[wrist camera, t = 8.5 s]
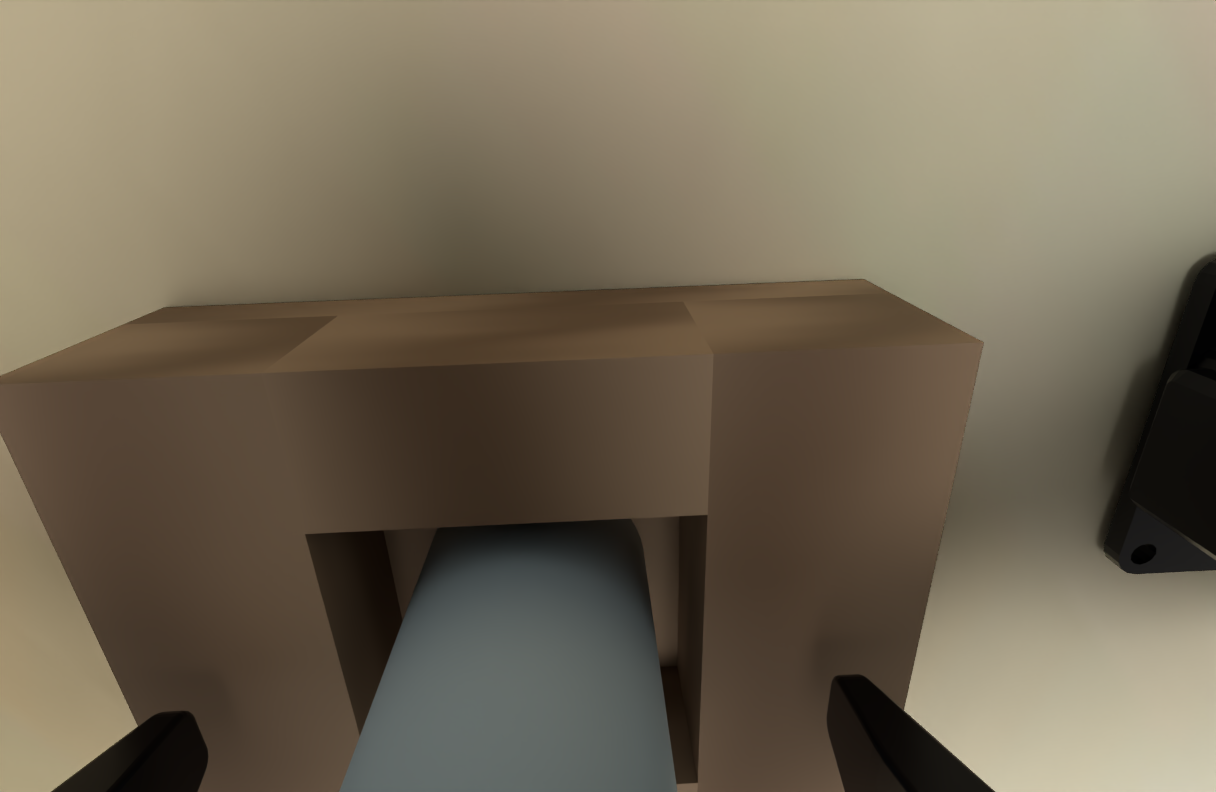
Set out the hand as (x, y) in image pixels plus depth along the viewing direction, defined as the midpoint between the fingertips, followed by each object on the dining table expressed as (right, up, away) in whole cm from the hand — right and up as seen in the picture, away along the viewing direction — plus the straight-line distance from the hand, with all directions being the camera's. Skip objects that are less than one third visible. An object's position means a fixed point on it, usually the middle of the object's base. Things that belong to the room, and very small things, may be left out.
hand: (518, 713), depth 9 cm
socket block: (0, +2, +4) cm, 4 cm away
